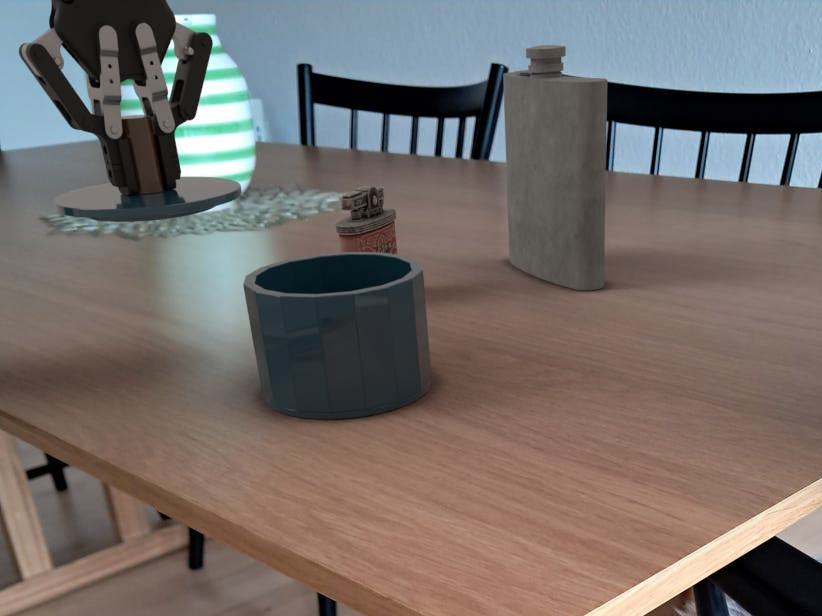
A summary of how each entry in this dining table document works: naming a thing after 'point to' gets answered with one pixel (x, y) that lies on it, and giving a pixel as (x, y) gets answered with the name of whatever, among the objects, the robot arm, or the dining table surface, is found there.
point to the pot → (340, 333)
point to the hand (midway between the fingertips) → (147, 190)
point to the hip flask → (556, 171)
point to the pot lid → (146, 187)
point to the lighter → (367, 222)
